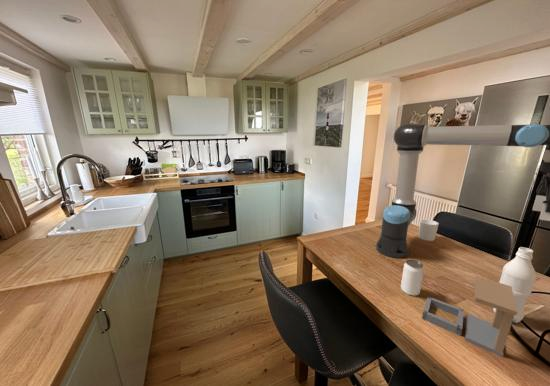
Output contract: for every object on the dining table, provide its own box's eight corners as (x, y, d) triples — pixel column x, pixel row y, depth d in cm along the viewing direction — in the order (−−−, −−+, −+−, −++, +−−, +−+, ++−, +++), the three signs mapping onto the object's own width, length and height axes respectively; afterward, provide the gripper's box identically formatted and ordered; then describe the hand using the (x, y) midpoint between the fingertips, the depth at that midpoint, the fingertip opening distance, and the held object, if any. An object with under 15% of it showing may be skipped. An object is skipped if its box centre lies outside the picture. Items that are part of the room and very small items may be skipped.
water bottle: (485, 309, 77) (502, 244, 71) (503, 307, 78) (523, 243, 71) (507, 326, 70) (529, 256, 64) (528, 324, 71) (551, 254, 64)
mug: (439, 241, 126) (442, 225, 123) (423, 242, 126) (426, 225, 123) (426, 233, 136) (429, 217, 134) (412, 233, 136) (414, 218, 134)
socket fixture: (421, 321, 73) (428, 281, 69) (427, 299, 82) (434, 263, 78) (502, 358, 60) (517, 311, 57) (499, 327, 70) (511, 286, 66)
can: (422, 297, 83) (427, 269, 80) (403, 295, 84) (408, 267, 81) (415, 286, 89) (420, 259, 86) (398, 284, 91) (402, 258, 88)
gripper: (586, 166, 71) (565, 227, 77) (563, 159, 89) (547, 209, 95) (550, 164, 76) (532, 222, 81) (535, 158, 94) (521, 205, 100)
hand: (540, 215), depth 88 cm, fingers open, 13 cm apart
